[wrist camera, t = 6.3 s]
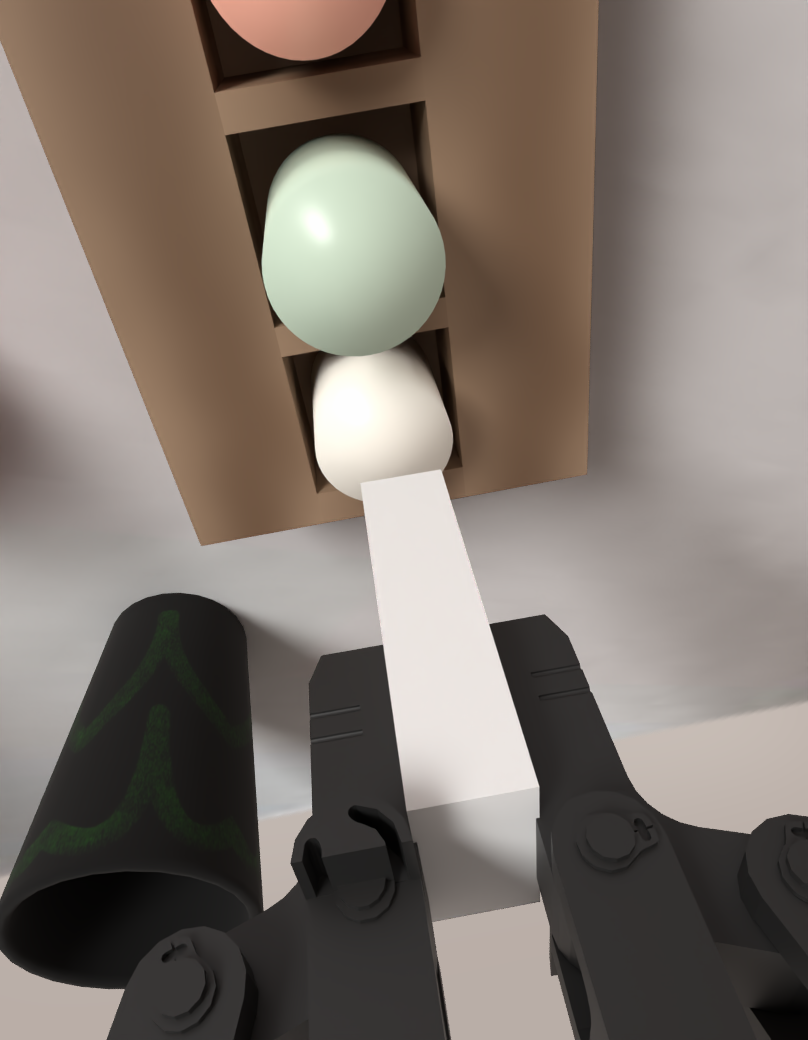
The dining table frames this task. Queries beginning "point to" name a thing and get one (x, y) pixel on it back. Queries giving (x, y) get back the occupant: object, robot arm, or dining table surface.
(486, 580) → the dining table surface
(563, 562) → the dining table surface
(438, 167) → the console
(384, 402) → the white egg
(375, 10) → the coral button
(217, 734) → the cup
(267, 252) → the pale green rounded piece
